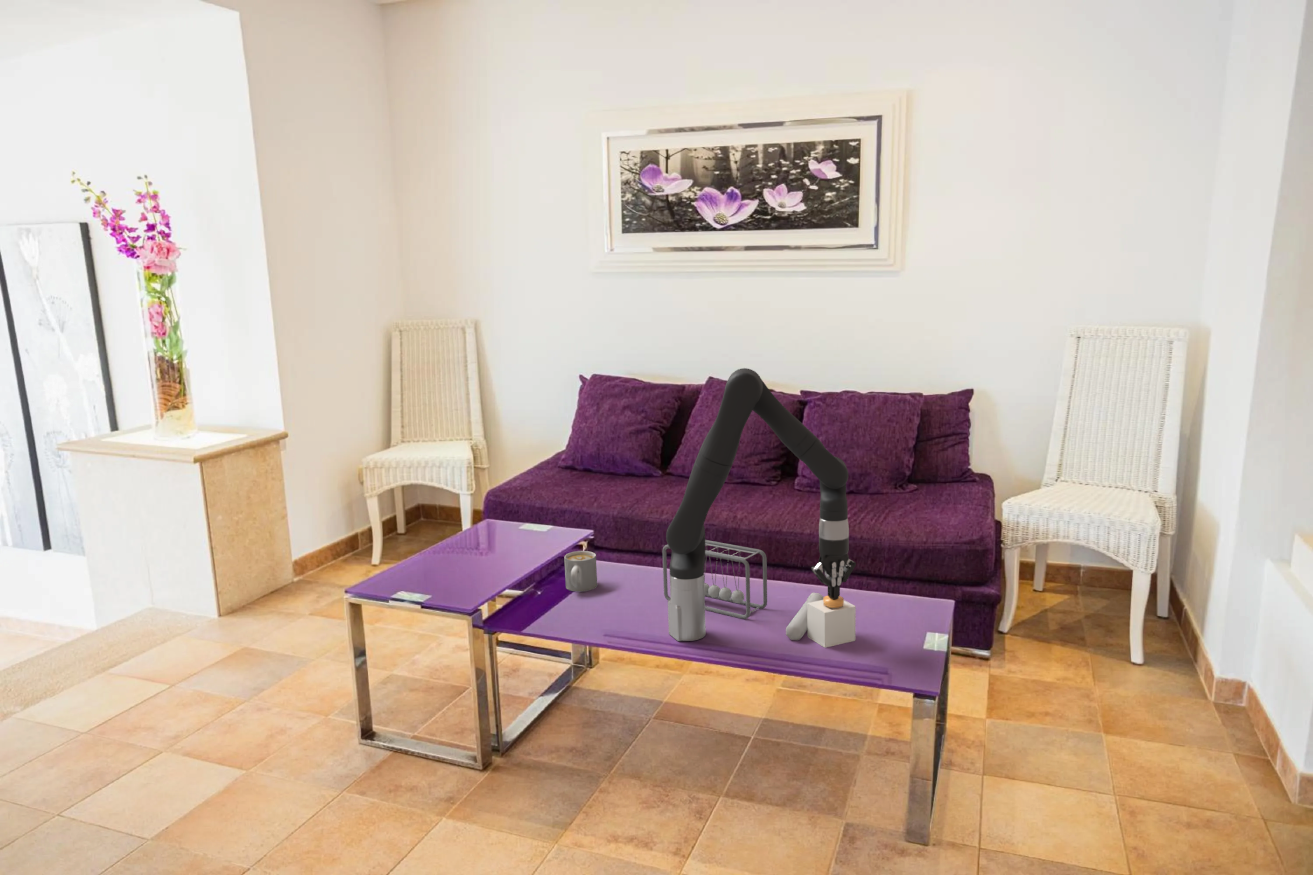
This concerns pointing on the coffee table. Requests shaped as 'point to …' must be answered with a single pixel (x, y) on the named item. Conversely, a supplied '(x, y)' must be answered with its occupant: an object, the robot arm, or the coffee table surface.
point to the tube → (801, 619)
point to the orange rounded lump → (833, 602)
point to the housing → (831, 623)
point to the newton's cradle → (726, 592)
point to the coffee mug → (580, 571)
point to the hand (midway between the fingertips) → (833, 598)
